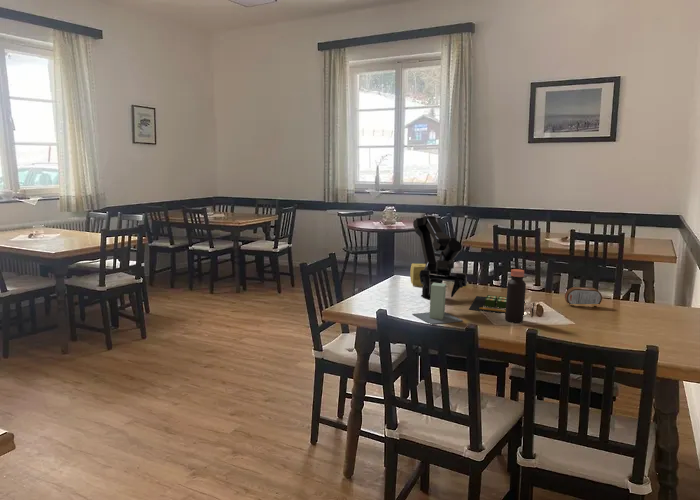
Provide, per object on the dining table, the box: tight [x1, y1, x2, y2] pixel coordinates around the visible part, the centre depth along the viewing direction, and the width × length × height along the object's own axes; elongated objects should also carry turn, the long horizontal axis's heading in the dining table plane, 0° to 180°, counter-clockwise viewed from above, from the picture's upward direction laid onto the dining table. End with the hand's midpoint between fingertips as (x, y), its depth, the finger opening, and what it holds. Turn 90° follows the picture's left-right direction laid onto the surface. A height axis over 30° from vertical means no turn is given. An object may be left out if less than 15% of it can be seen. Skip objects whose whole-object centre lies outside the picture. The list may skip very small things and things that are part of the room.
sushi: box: [468, 294, 507, 314], centre depth 229 cm, size 25×25×4 cm
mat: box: [412, 311, 463, 325], centre depth 209 cm, size 14×14×1 cm
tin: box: [564, 286, 603, 305], centre depth 231 cm, size 15×3×8 cm, turn 84°
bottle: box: [504, 268, 527, 324], centre depth 206 cm, size 7×7×20 cm
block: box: [429, 282, 447, 319], centre depth 208 cm, size 5×5×13 cm
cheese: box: [409, 263, 426, 287], centre depth 267 cm, size 10×11×10 cm
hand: (439, 295), depth 213 cm, fingers open, 9 cm apart
